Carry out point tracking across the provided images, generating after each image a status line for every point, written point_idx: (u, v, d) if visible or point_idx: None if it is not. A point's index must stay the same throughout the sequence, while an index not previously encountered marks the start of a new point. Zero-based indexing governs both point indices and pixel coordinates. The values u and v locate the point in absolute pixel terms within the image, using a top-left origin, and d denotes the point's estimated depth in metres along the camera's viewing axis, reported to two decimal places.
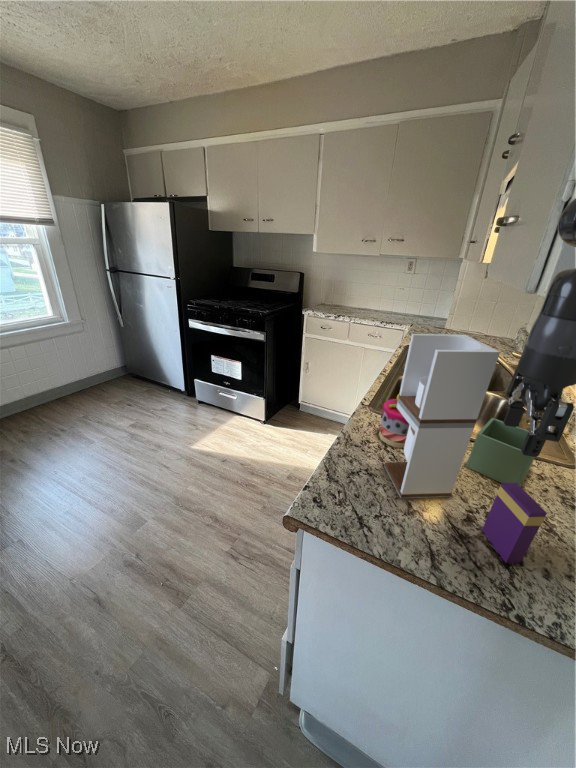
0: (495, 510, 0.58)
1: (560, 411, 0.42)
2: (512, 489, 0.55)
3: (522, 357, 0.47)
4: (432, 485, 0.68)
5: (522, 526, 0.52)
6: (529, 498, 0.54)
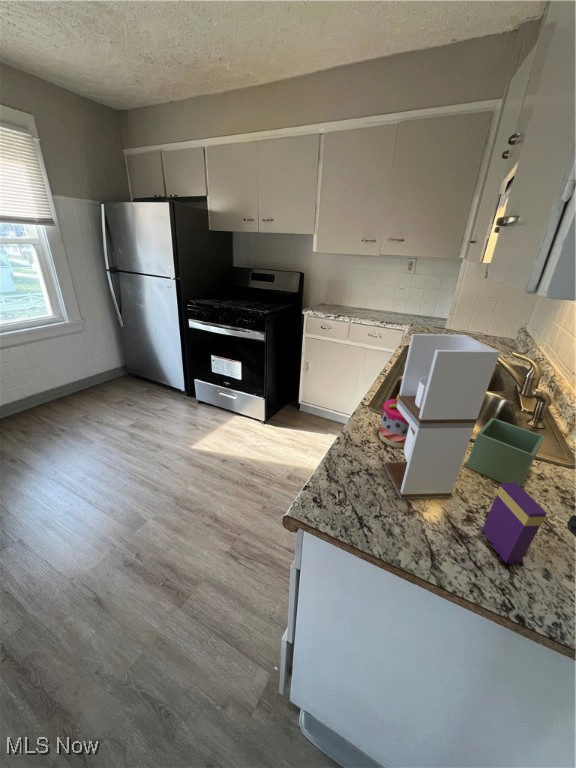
0: (495, 510, 0.58)
1: None
2: (512, 489, 0.55)
3: None
4: (432, 485, 0.68)
5: (522, 526, 0.52)
6: (529, 498, 0.54)
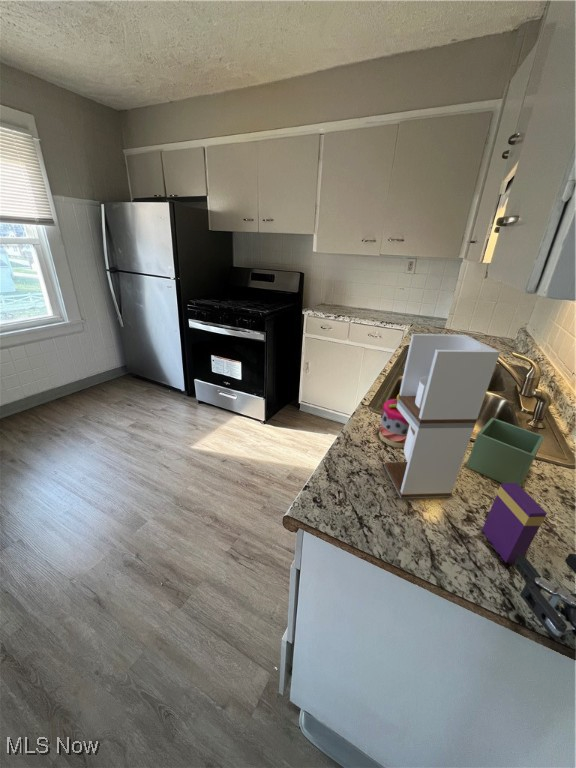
0: (495, 510, 0.58)
1: None
2: (512, 489, 0.55)
3: None
4: (432, 485, 0.68)
5: (522, 526, 0.52)
6: (529, 498, 0.54)
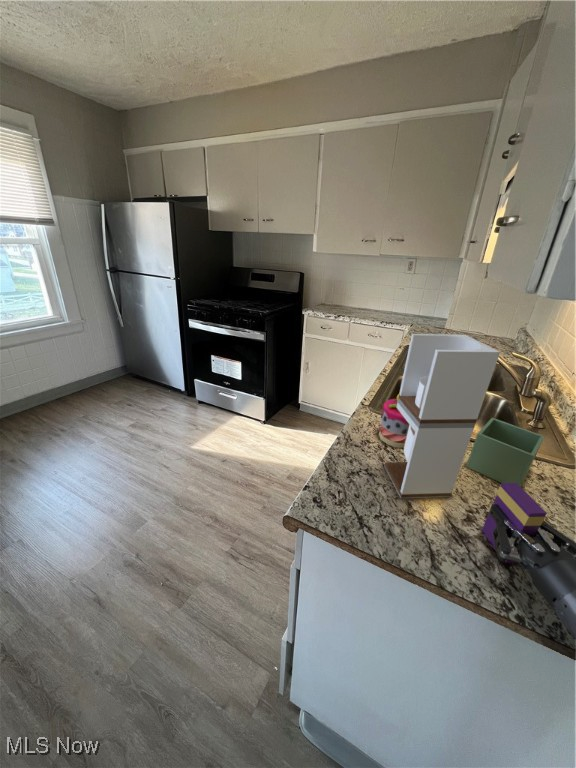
0: None
1: None
2: (512, 489, 0.55)
3: None
4: (432, 485, 0.68)
5: (522, 526, 0.52)
6: (529, 498, 0.54)
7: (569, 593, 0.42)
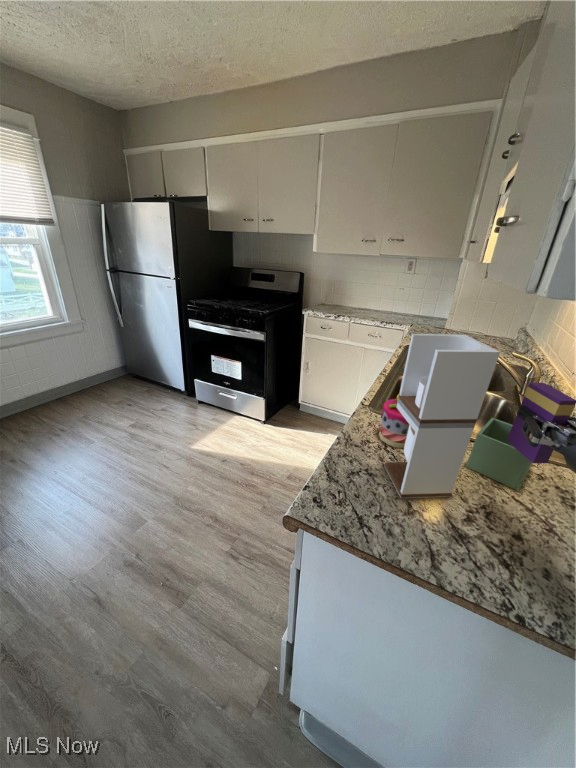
0: None
1: None
2: (540, 386, 0.56)
3: None
4: (432, 485, 0.68)
5: (552, 417, 0.53)
6: (558, 391, 0.54)
7: None
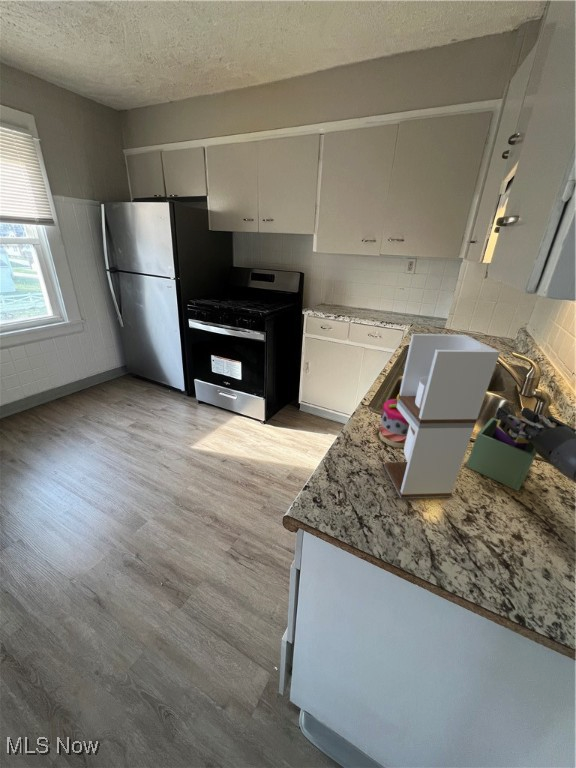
0: (495, 438, 0.78)
1: None
2: None
3: None
4: (432, 485, 0.68)
5: (514, 444, 0.72)
6: None
7: (561, 444, 0.59)
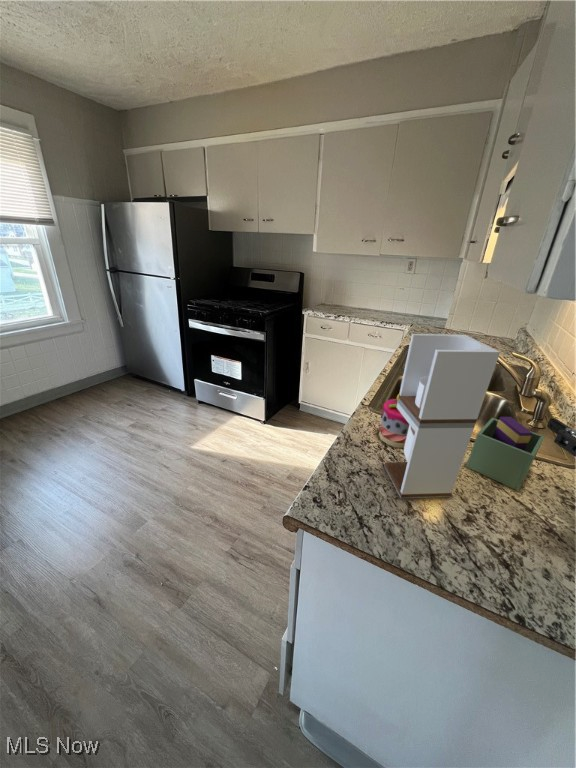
0: (495, 438, 0.78)
1: None
2: (507, 420, 0.75)
3: None
4: (432, 485, 0.68)
5: (514, 444, 0.72)
6: (520, 425, 0.73)
7: None
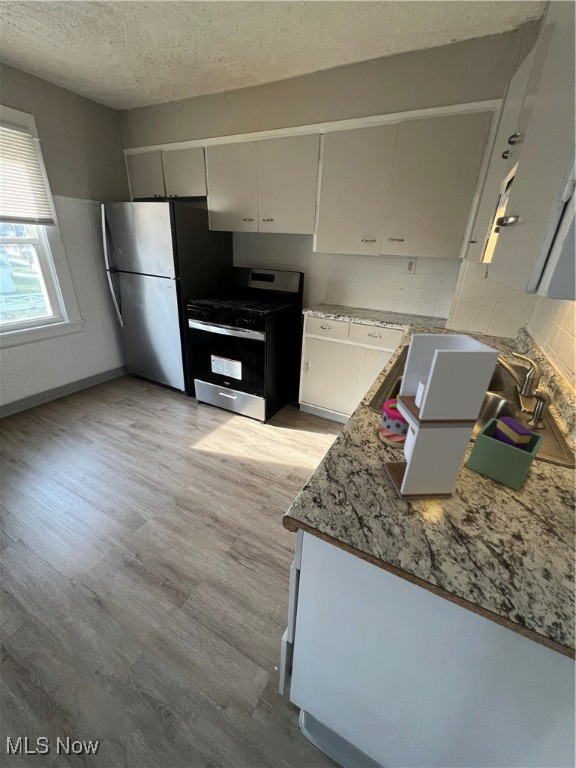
0: (495, 438, 0.78)
1: None
2: (507, 420, 0.75)
3: None
4: (432, 485, 0.68)
5: (514, 444, 0.72)
6: (520, 425, 0.73)
7: None
